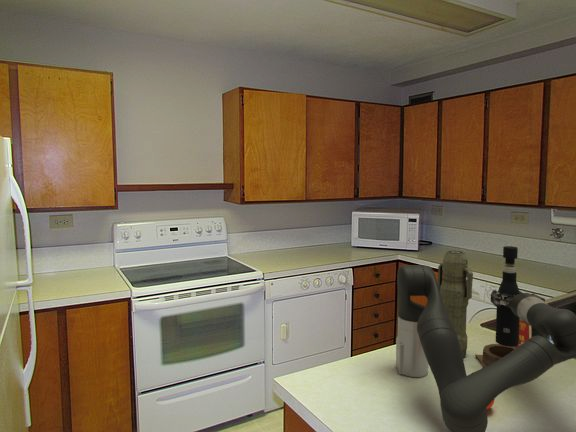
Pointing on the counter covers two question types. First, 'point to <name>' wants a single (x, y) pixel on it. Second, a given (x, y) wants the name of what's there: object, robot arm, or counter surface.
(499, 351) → the bottle stand
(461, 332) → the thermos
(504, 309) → the wine bottle
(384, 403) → the counter surface
